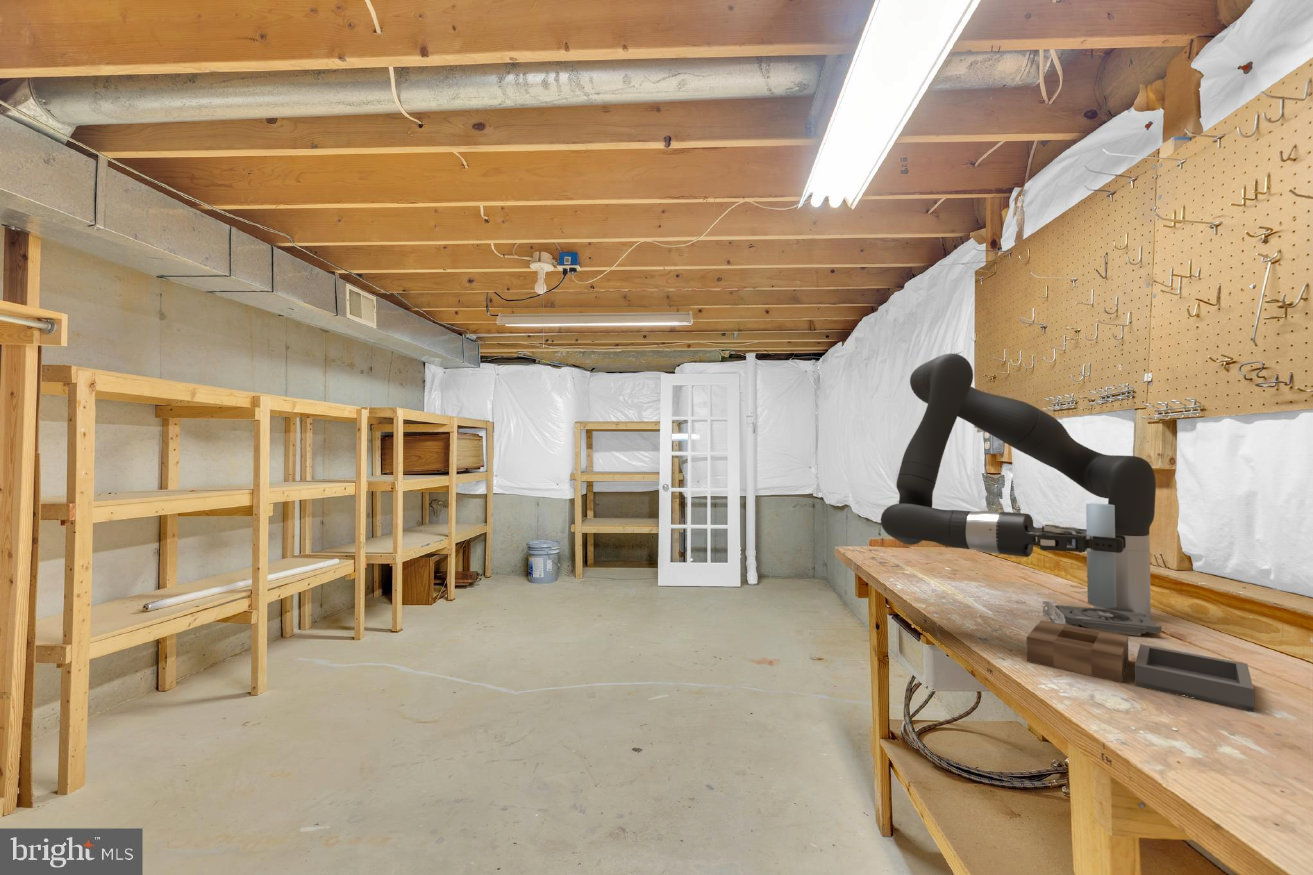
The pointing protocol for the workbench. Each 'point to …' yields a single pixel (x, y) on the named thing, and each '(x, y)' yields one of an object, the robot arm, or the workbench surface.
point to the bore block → (1079, 650)
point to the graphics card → (1101, 619)
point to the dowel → (1101, 557)
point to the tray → (1195, 676)
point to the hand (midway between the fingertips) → (1123, 543)
